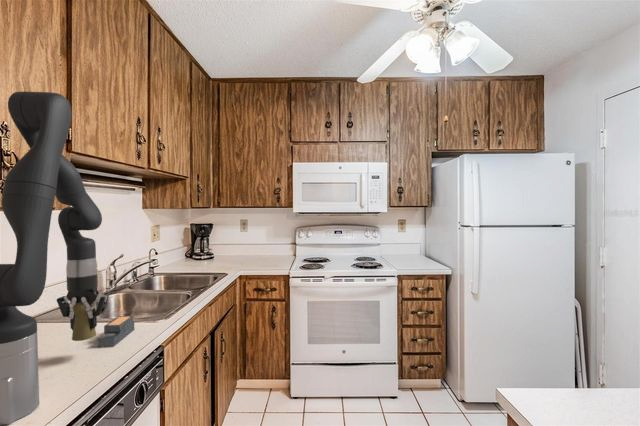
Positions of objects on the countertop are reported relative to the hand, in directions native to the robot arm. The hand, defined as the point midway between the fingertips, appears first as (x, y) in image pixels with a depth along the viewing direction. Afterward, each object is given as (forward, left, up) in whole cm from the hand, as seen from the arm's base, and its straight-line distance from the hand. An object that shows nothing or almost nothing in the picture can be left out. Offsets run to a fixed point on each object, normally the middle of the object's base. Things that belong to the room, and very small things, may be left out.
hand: (84, 329), depth 99 cm
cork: (0, 0, -2) cm, 2 cm away
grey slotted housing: (+14, -2, -9) cm, 16 cm away
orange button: (+15, -2, -5) cm, 16 cm away
